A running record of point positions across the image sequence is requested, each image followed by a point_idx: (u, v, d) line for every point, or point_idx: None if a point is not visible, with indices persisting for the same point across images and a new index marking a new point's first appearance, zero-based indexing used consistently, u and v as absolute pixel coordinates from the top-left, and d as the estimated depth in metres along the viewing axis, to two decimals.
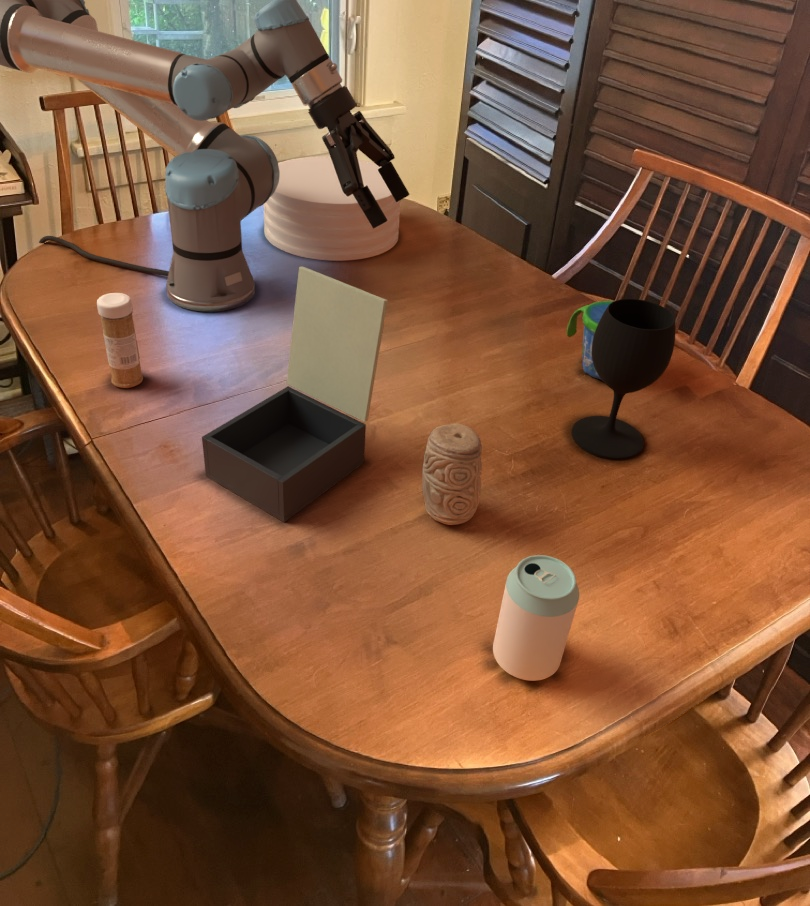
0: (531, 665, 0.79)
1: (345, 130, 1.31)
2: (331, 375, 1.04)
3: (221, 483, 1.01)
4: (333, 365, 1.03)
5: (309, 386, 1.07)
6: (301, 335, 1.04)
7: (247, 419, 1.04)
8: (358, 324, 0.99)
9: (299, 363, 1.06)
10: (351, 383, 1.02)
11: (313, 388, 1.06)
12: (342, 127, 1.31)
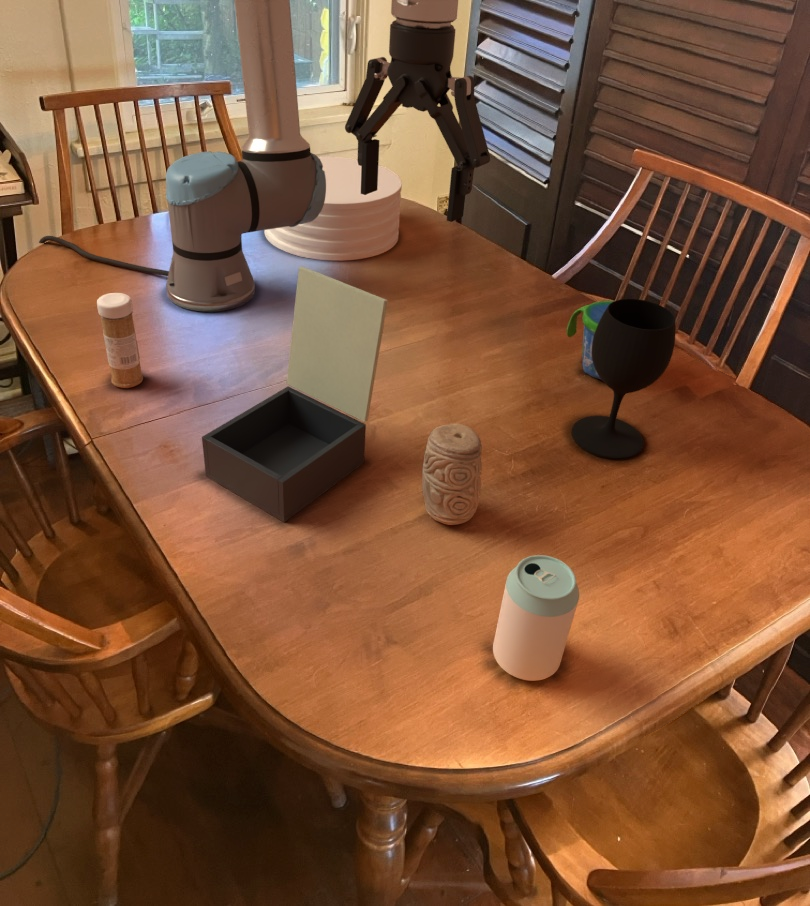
0: (531, 665, 0.79)
1: (397, 76, 0.95)
2: (331, 375, 1.04)
3: (221, 483, 1.01)
4: (333, 365, 1.03)
5: (309, 386, 1.07)
6: (301, 335, 1.04)
7: (247, 419, 1.04)
8: (358, 324, 0.99)
9: (299, 363, 1.06)
10: (351, 383, 1.02)
11: (313, 388, 1.06)
12: (395, 69, 0.95)
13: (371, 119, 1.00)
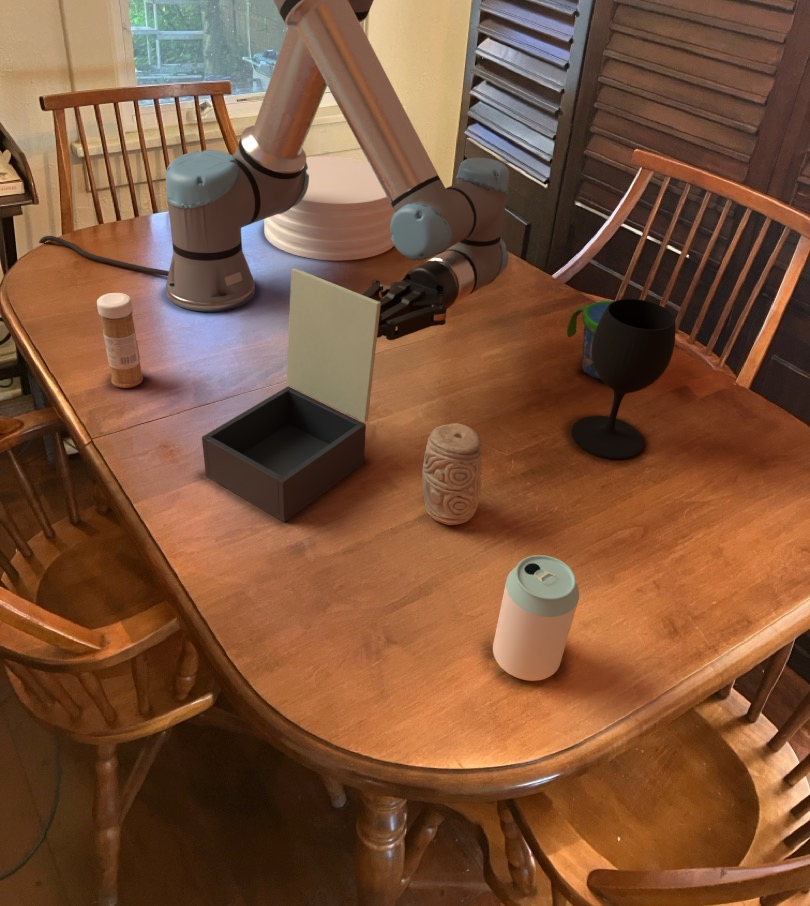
0: (531, 665, 0.79)
1: None
2: (329, 376, 1.03)
3: (221, 483, 1.01)
4: (331, 367, 1.03)
5: (308, 386, 1.06)
6: (298, 336, 1.04)
7: (247, 419, 1.04)
8: (352, 326, 0.98)
9: (297, 364, 1.06)
10: (349, 384, 1.02)
11: (312, 388, 1.06)
12: None
13: None
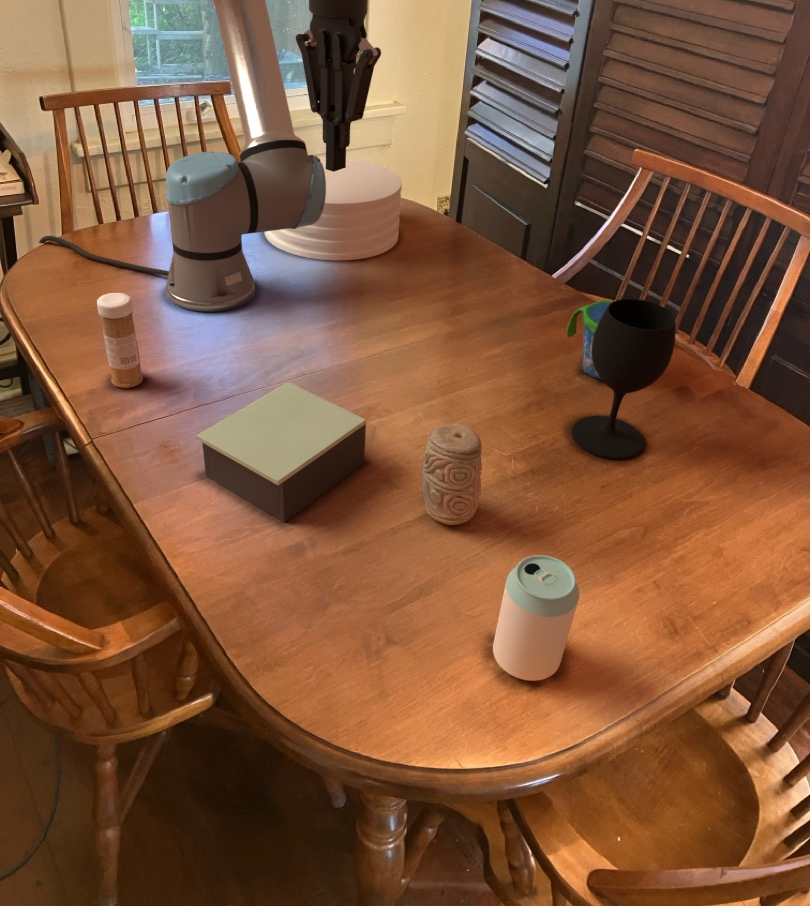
0: (531, 665, 0.79)
1: (318, 26, 1.05)
2: None
3: (221, 483, 1.01)
4: None
5: None
6: None
7: None
8: None
9: None
10: None
11: None
12: (314, 23, 1.05)
13: (322, 92, 1.09)
